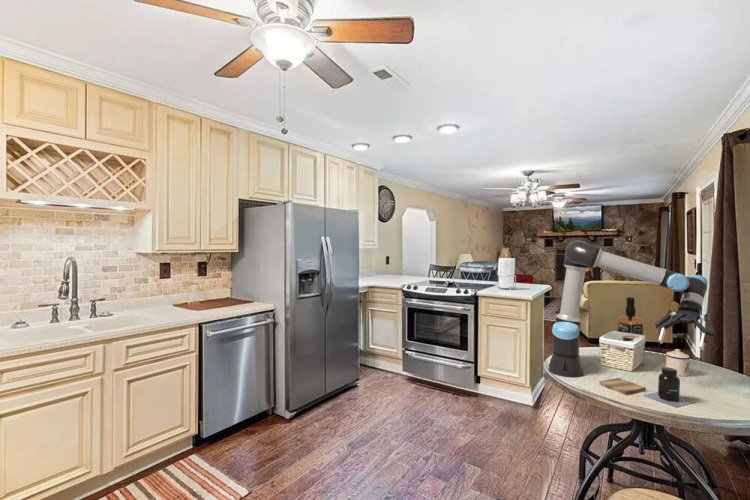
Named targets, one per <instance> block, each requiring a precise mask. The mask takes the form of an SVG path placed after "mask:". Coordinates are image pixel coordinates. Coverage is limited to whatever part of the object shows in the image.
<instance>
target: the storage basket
mask: <svg viewBox="0 0 750 500" xmlns="http://www.w3.org/2000/svg"><path fill="white" fill-rule="evenodd" d="M623 338H628V339H633V340H632V341H623ZM598 339H599V340H598V342H599V354H600V357H599V358H600V363H599V364H601V366H605V367H608V368H612V369H613V368H614V369H616V370H622V371H628V372H633V371H634V370H636V369H637V368H638V367H640V366H641V364H642V363H643V362H644V356H645V345H646V335H644V334H643V335H638V334H632V333H625V332H618V330H617V331H616V330H613V331H609V332H606V334H602V335H601V336H600V337H599V338H598Z"/></svg>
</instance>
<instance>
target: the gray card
mask: <svg viewBox="0 0 750 500" xmlns="http://www.w3.org/2000/svg"><path fill="white" fill-rule="evenodd" d="M643 397H646V398H648V399H652V400H655V401H657V402H660V403H663V404H665V405H668V406H671V407H673V408H681V407H683V406H688V405H691V404H695V403H696V401H693V400H690V399H688V398H685V397H681V396H680V397H679V401H676V402H673V401H667V400H664V399H662V398H660V397H659V396H658V391H654V392H650V393H646V394H643Z"/></svg>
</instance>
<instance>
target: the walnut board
mask: <svg viewBox="0 0 750 500" xmlns="http://www.w3.org/2000/svg"><path fill="white" fill-rule="evenodd" d="M599 386H601V387H604V388H607V389H610V390H612V391H615V392H617V393H620V394H622V395H624V396H628V395H633V394H636V393H641V392H642V393H643V392H645V391H646V386H643V385H640V384H638V383H635V382H631V381H628V380H626V379H623V378H619V377H616V378H611V379H605V380H600V381H599Z"/></svg>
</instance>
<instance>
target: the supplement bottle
mask: <svg viewBox="0 0 750 500" xmlns="http://www.w3.org/2000/svg"><path fill="white" fill-rule="evenodd" d="M676 375H677V370H676V369H673V368H668V367H666V366H662V367H661V373H660V374H659V375H658V379H657V380H658V385H657V386H658V387H657V389H658V390H657V392H658V396H659V397H660V398H662V399H664V400H667V401H673V402H676V401H679V397H681V396H680V395H681V394H680V392H681V391H680V390H681V379H680V378H679V376H676Z"/></svg>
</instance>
